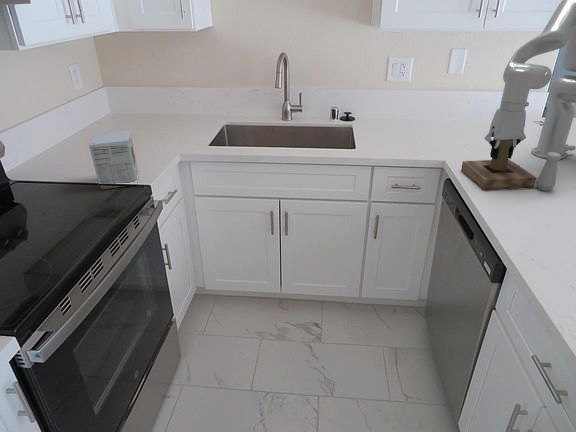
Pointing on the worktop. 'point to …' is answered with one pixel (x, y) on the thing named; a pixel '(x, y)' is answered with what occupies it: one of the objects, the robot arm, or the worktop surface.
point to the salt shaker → (548, 172)
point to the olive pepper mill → (501, 156)
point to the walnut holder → (497, 175)
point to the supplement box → (114, 157)
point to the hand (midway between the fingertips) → (500, 157)
